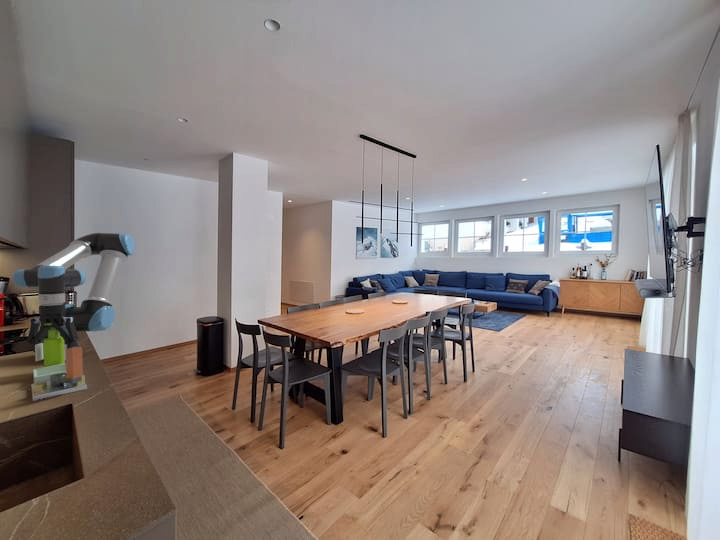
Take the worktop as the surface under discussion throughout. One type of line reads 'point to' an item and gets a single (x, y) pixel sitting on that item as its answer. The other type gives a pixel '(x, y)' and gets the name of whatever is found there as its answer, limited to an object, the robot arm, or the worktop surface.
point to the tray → (47, 372)
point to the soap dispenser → (53, 348)
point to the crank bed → (55, 389)
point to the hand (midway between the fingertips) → (53, 359)
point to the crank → (70, 368)
